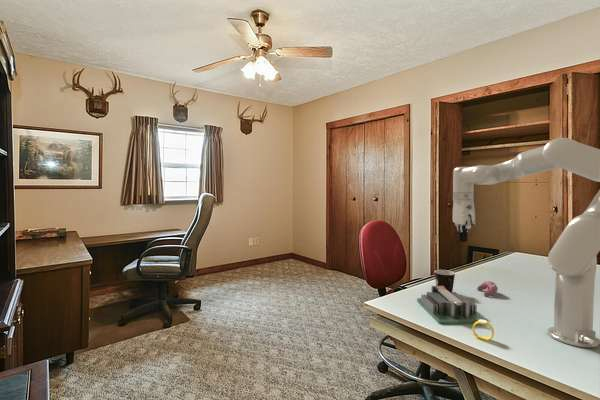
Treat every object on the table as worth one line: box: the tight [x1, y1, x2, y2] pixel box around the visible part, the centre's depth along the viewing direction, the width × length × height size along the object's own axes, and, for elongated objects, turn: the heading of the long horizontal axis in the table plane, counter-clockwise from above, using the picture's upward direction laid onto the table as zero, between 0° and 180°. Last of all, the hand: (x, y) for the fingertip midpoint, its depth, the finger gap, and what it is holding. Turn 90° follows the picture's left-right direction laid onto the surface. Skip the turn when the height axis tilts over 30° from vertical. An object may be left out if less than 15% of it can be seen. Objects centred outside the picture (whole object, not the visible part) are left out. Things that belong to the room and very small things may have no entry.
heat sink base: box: [416, 285, 487, 325], centre depth 124 cm, size 22×17×7 cm
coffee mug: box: [434, 269, 456, 292], centre depth 144 cm, size 12×9×10 cm
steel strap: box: [435, 285, 464, 306], centre depth 124 cm, size 18×3×1 cm, turn 179°
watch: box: [471, 319, 495, 341], centre depth 102 cm, size 6×3×6 cm, turn 55°
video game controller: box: [476, 280, 499, 298], centre depth 145 cm, size 10×5×7 cm, turn 169°
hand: (462, 241), depth 129 cm, fingers closed
